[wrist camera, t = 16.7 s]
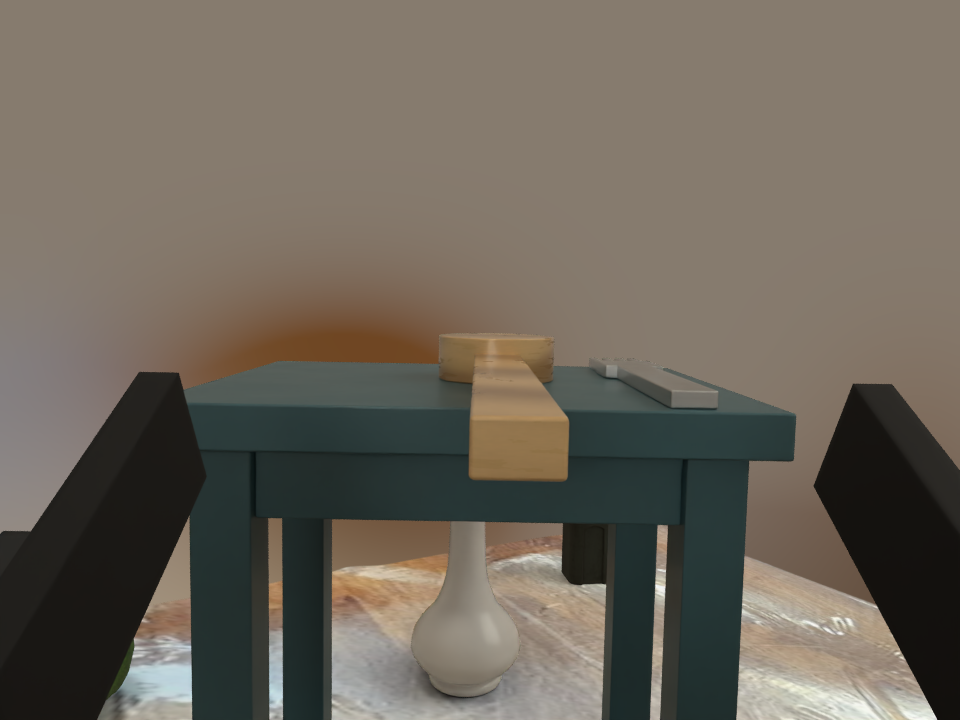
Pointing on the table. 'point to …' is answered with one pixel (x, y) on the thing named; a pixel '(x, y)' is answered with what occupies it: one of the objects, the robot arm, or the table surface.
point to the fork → (657, 383)
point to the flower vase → (466, 622)
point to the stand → (465, 519)
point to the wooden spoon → (509, 405)
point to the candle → (585, 553)
